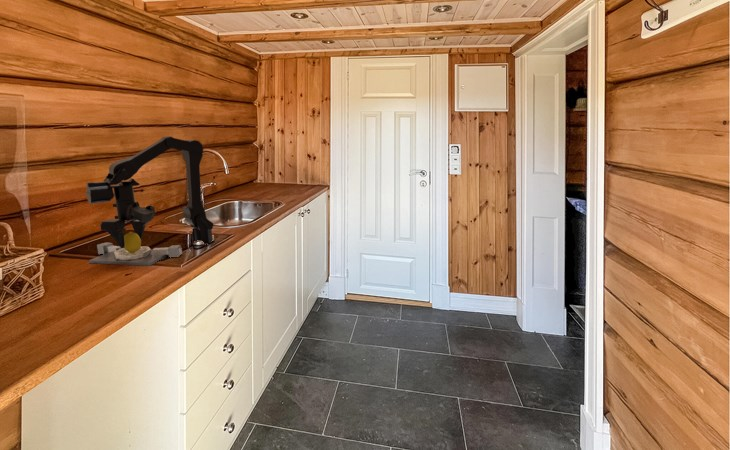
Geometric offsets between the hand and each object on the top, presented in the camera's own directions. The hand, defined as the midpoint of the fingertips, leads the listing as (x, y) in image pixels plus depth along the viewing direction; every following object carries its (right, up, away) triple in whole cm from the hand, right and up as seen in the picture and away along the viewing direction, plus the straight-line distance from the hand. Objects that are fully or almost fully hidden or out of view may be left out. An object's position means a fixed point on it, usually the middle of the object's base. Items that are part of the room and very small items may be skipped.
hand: (131, 244), depth 140 cm
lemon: (0, -4, +1) cm, 4 cm away
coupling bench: (0, -5, +1) cm, 5 cm away
